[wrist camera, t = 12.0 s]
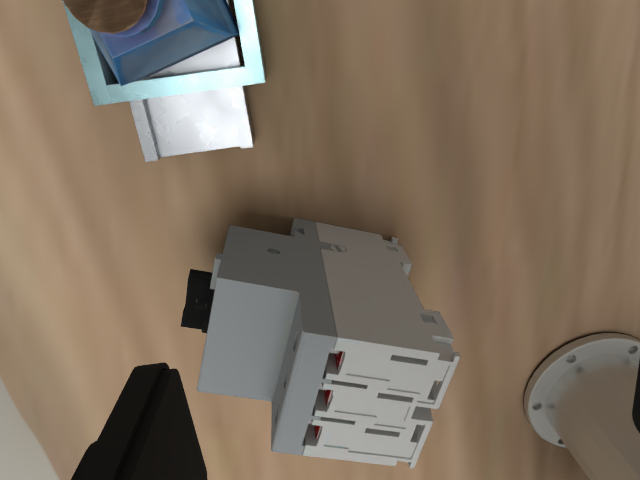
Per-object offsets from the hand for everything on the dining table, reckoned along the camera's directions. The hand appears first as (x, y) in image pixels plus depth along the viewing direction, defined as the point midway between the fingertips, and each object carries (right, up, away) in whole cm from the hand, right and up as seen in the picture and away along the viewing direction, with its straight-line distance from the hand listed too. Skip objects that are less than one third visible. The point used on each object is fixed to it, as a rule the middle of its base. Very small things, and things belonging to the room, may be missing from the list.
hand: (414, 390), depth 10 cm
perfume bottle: (-11, +17, +19) cm, 28 cm away
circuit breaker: (-4, +1, +28) cm, 29 cm away
